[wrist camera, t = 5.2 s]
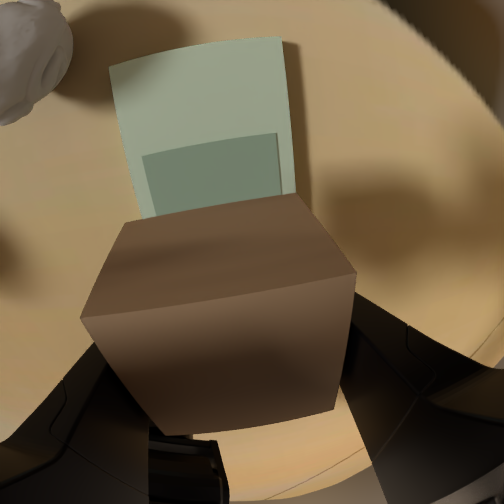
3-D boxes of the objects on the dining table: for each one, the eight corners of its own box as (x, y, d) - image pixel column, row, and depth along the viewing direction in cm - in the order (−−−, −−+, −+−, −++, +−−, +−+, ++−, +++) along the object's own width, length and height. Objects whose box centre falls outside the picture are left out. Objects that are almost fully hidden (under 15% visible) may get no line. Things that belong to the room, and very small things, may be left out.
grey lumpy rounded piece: (-5, 46, 8) (-86, 50, 2) (95, -11, 8) (30, -54, 3) (9, 133, 11) (-72, 172, 6) (110, 86, 12) (39, 91, 6)
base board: (294, 248, 18) (299, 258, 17) (164, 270, 18) (162, 281, 17) (276, 39, 12) (281, 35, 11) (114, 68, 11) (107, 66, 10)
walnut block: (300, 319, 11) (333, 409, 8) (170, 341, 11) (165, 435, 7) (296, 192, 8) (356, 272, 5) (125, 222, 8) (79, 318, 5)
